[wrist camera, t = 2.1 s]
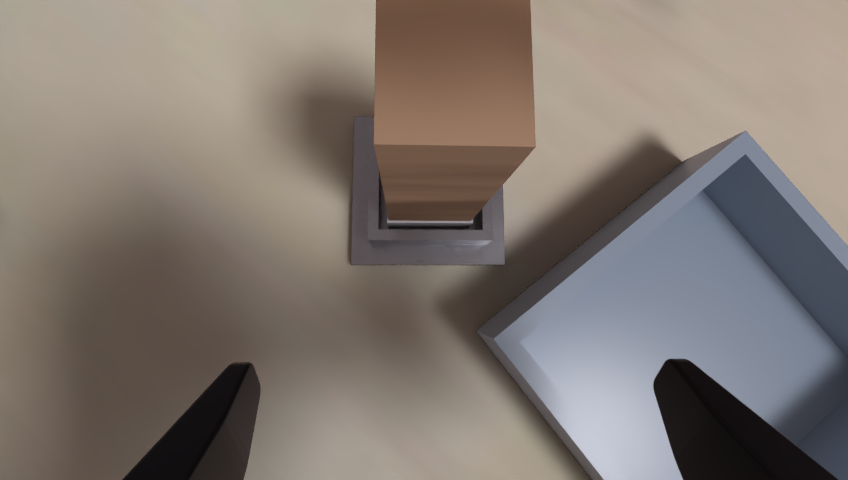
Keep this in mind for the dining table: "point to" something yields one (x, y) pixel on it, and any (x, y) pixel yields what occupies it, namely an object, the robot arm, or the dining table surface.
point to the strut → (450, 105)
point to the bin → (689, 316)
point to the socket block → (414, 244)
